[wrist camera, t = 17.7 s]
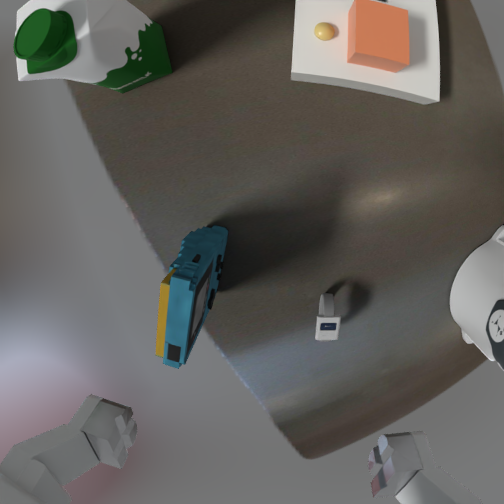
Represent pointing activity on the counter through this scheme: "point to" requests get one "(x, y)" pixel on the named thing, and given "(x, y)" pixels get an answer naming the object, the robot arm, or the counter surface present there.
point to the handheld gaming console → (189, 293)
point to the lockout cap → (378, 36)
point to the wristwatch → (327, 319)
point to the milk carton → (89, 43)
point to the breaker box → (357, 76)
